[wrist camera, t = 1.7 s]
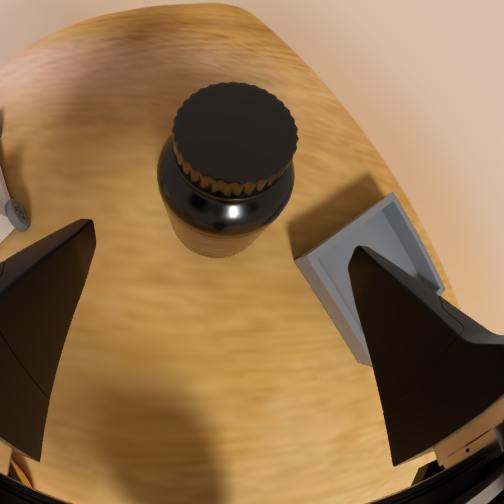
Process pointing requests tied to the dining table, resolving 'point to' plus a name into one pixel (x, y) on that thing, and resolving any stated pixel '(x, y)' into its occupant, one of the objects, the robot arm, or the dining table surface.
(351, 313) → the holder tray
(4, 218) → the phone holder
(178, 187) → the supplement bottle
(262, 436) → the dining table surface
